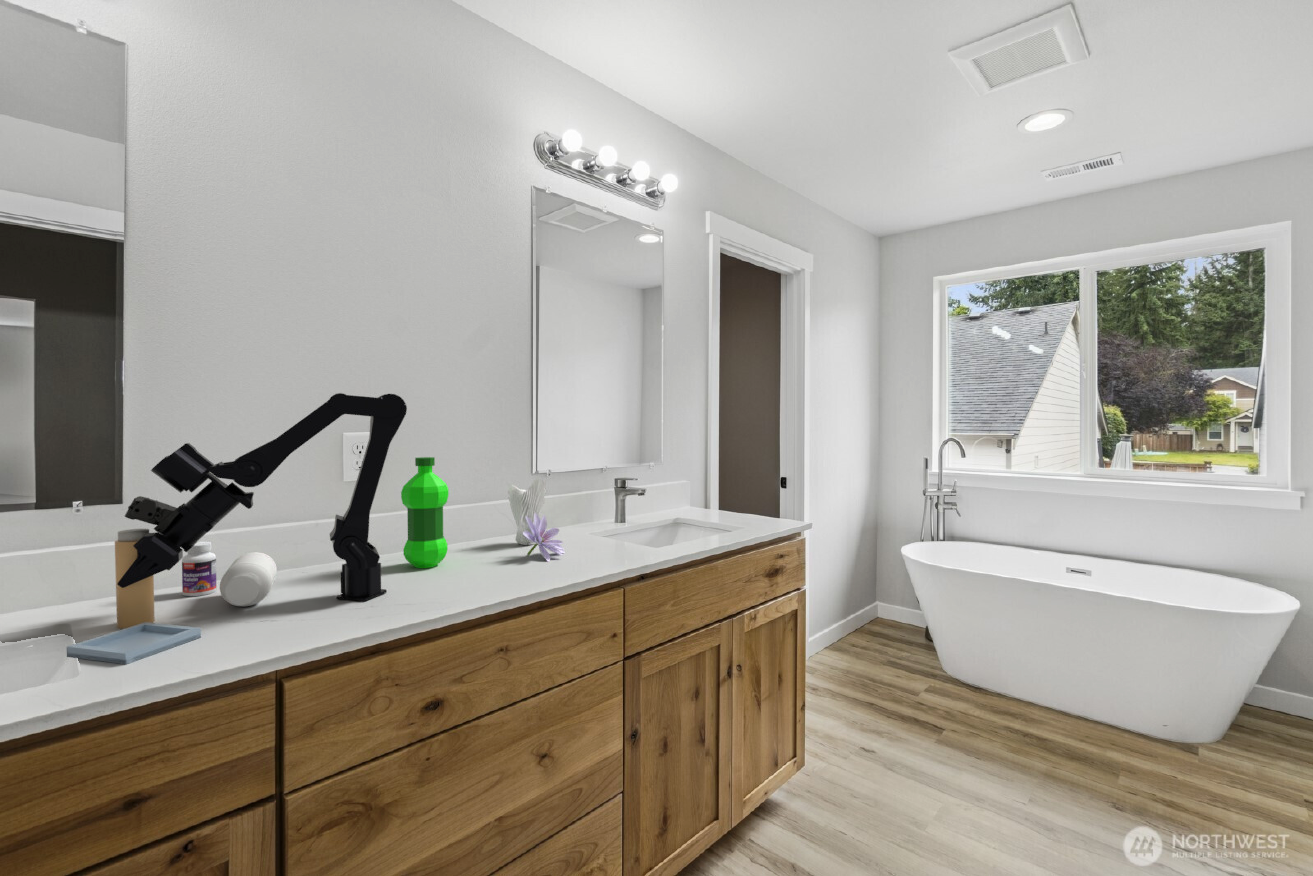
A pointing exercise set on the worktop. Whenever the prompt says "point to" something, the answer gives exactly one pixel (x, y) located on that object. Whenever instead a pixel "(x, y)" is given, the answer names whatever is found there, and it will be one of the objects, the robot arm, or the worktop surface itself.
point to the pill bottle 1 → (199, 570)
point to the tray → (133, 642)
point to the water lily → (543, 537)
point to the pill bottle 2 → (248, 579)
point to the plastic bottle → (425, 515)
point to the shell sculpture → (526, 506)
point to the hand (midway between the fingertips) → (124, 582)
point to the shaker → (136, 597)
